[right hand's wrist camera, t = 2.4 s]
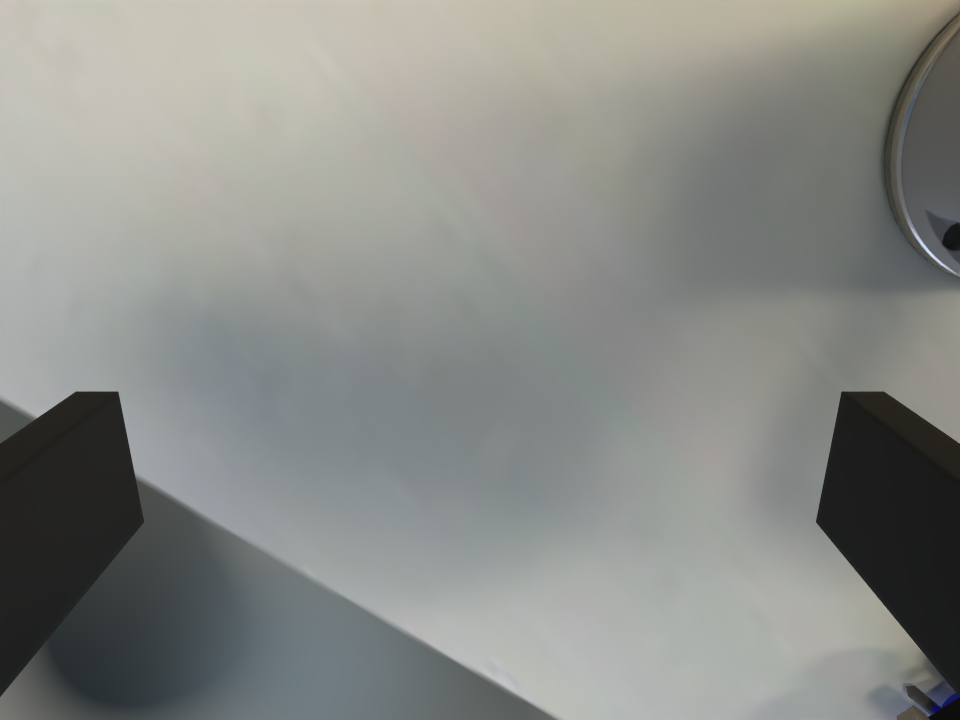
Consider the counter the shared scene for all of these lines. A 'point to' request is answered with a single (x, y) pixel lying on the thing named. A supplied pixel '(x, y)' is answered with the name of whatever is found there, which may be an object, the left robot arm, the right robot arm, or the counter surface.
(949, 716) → the figurine character
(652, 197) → the counter surface
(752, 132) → the counter surface
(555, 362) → the counter surface
